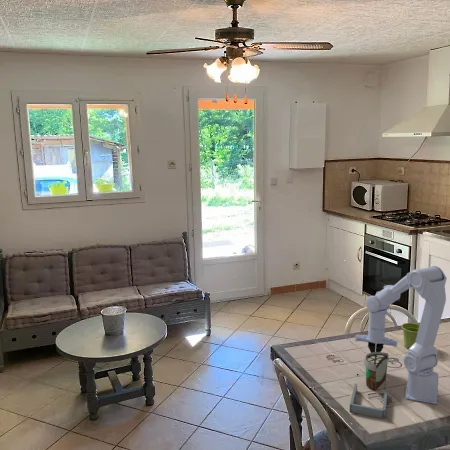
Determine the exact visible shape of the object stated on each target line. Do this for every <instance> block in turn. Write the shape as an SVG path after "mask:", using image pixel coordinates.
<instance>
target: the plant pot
mask: <svg viewBox="0 0 450 450" xmlns="http://www.w3.org/2000/svg"><path fill="white" fill-rule="evenodd" d="M419 326H420V323H415V322H405V323H404V322H403V324H401V328H402V332H403V333H402V334H403V342H404V343H403V345H404V347H405V348H406V349H408V350H409V348H410V347H411V346H412V345H413V344H414V343H415V342H416V338H417V334H418V330H419Z"/></svg>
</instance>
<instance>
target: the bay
mask: <svg viewBox="0 0 450 450" xmlns="http://www.w3.org/2000/svg"><path fill="white" fill-rule="evenodd" d="M357 392H358V383H354V385H353V390H352V394H351V397H350V401H349V412H350V413H354V414H360V415H365V416H370V417H373V418H374V417H375V418H380V419H386V410H387V402H388V388H384V395H383V403H382V408H377V407H372V406H368V405H367V406H366V405H362V404H356V403H355V401H356V398H357Z"/></svg>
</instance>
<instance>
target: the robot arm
mask: <svg viewBox="0 0 450 450" xmlns="http://www.w3.org/2000/svg"><path fill="white" fill-rule="evenodd" d="M446 283H447V276H446V275H445V273H444V271H443V270H442V268H441V267H439V266H437V265H433V266H430V267H425V268H419V269H413V270H411V271H410V272H407V273H406V275H405V276H403V277H401V279H400V280H398V281H397V283H395V284H394V285H393V284H386V285H384V286H383V289H381V290H378V291H376V293H375V295H369V296H367V298H366V299H365V307H366V308H367V310H368V331H367V332H368V333H367V334H356V335H355V340H354V341H355V342H364V343H367V347H368V350H369V351H370V352H369V353H373V352H382V350H383V349H384V345H386V346H393V347H395V348H397V347H398V339H395V338H391V337H386V336H385V335H386V334H385V333H386V330H385V329H386V315H388V310H389V309H390V306H391V305H392V304H393V303H395V302H396V301H398V300H400V299H401V295H402V293H404V292H406V291H407V290H409V289H411V288H413V289H414V291H416V292H417V294H418V296H420V297H421V298H422V299H424V301H425V302H424V307H423V311H422V314H421V318H420V319H421V320H420V323H419V324H420V326H419V330H418V334H417V338H416V342H415V343H414V344H413V345H412V346H411V347H410V348H409V349H408V352H407V353H406V354H405V355H404V356H403V364H404V368H406V370H407V372H408V373H407V385H406V386H405V399H406V400H410V401H416V402H422V403H428V404H434V405H437V404H438V396H439V373H438V372H436V371H434V368H435V367H437V365H438V363H439V360H438V359H439V358H438V352H439V350H438V349H437V348H436V346H435V343H436V338H437V334H438V331H439V328H440V324H441V320H442V316H443V313H444V309H445V306H446V301H447V295H446Z"/></svg>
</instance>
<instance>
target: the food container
mask: <svg viewBox="0 0 450 450" xmlns="http://www.w3.org/2000/svg"><path fill="white" fill-rule="evenodd" d="M388 359H389V353H388V352H382V351H381V352H376V351H375V352H373V353H371V352H369V353H367V354H366V355H365V357H364V359H363V366H364V367H365V381H366V382H365V384H366V387H367V388H368V389H370V390H371V391H373V392H377V391H378V390H379V389H380V388H381V386H382V385H383V384H385V382H386V381H387V372H388V371H387V370H388V363H389V362H388Z"/></svg>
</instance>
